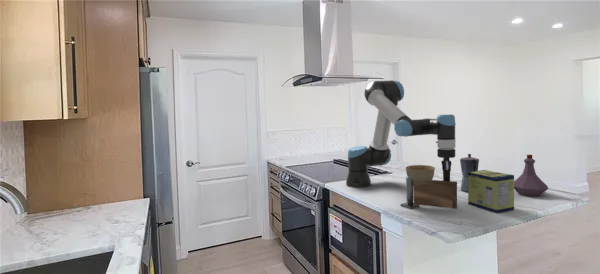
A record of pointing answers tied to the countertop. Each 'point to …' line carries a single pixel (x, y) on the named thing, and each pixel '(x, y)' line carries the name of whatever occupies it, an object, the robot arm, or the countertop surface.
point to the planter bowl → (420, 172)
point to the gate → (435, 193)
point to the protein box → (491, 190)
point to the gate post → (409, 194)
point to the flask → (529, 180)
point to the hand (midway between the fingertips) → (446, 199)
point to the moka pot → (467, 169)
